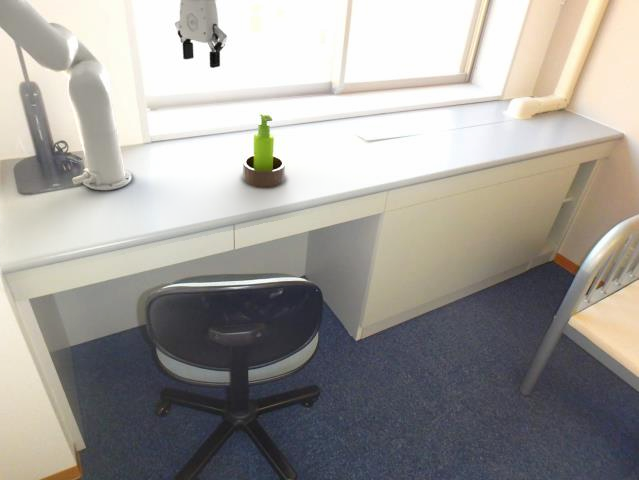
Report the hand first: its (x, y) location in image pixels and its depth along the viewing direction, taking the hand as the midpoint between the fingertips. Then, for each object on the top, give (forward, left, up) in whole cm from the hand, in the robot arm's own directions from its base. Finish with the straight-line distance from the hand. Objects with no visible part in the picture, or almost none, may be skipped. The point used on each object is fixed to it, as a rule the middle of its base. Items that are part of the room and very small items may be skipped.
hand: (201, 62), depth 119 cm
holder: (+9, -15, -33) cm, 37 cm away
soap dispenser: (+9, -15, -33) cm, 37 cm away
